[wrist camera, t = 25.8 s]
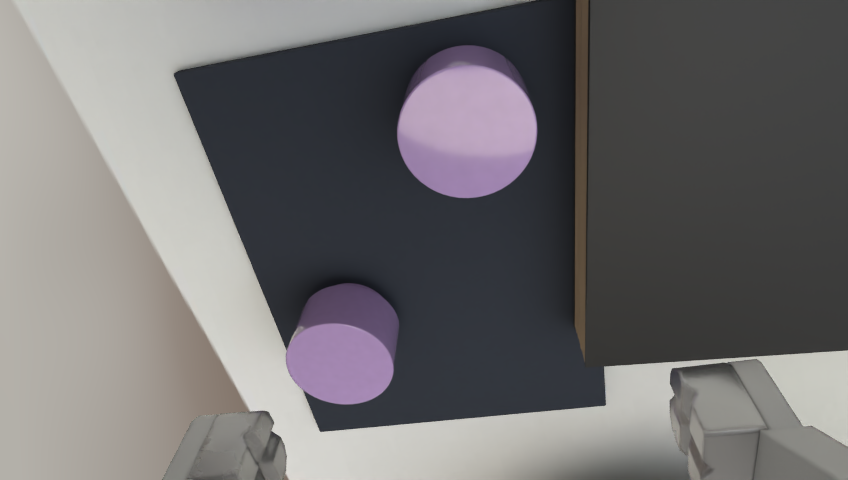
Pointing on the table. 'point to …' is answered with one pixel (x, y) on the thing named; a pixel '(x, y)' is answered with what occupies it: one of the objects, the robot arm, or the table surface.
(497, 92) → the lilac cylinder puck
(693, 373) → the robot arm
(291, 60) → the mat
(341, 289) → the lavender round puck
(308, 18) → the table surface
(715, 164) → the file folder
